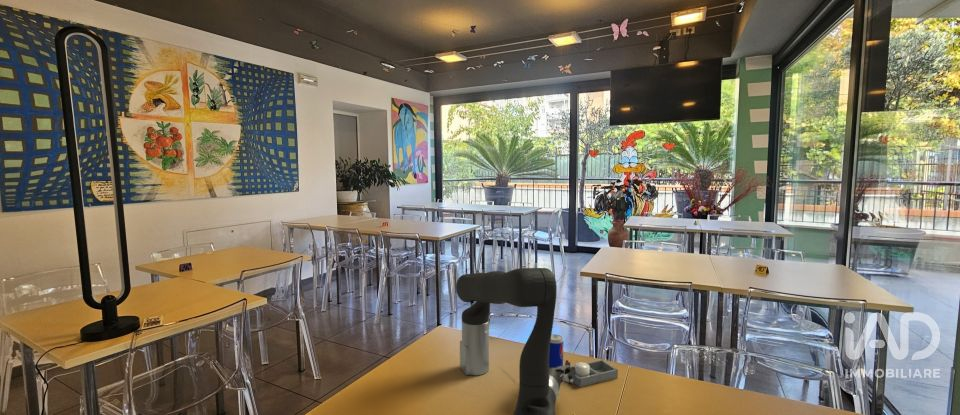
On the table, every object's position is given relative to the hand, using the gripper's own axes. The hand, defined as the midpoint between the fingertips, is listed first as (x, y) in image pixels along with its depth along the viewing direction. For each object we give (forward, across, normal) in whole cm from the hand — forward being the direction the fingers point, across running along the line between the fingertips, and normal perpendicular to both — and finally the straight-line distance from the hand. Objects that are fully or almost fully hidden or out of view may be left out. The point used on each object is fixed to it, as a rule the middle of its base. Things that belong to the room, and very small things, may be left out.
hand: (553, 361), depth 129 cm
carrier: (+10, -11, +9) cm, 17 cm away
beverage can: (+4, 0, +9) cm, 10 cm away
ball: (+7, -8, +8) cm, 14 cm away
